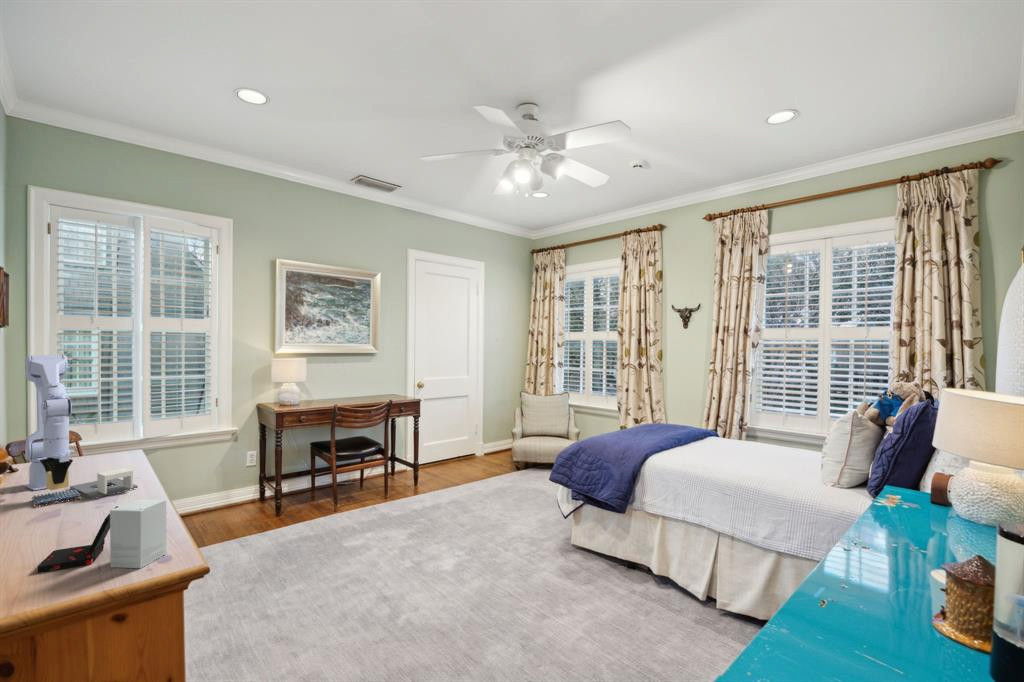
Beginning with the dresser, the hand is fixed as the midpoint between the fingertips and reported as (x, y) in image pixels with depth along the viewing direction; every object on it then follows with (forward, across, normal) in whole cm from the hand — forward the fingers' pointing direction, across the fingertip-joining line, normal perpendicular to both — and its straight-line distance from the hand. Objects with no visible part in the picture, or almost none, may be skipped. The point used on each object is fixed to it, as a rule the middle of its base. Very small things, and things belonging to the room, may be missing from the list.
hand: (56, 482), depth 146 cm
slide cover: (+4, -8, -12) cm, 15 cm away
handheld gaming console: (+6, -57, +10) cm, 58 cm away
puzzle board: (+5, +1, -12) cm, 13 cm away
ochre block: (+2, 0, 0) cm, 2 cm away
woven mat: (+6, 0, 0) cm, 6 cm away
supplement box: (+6, -69, +4) cm, 69 cm away
